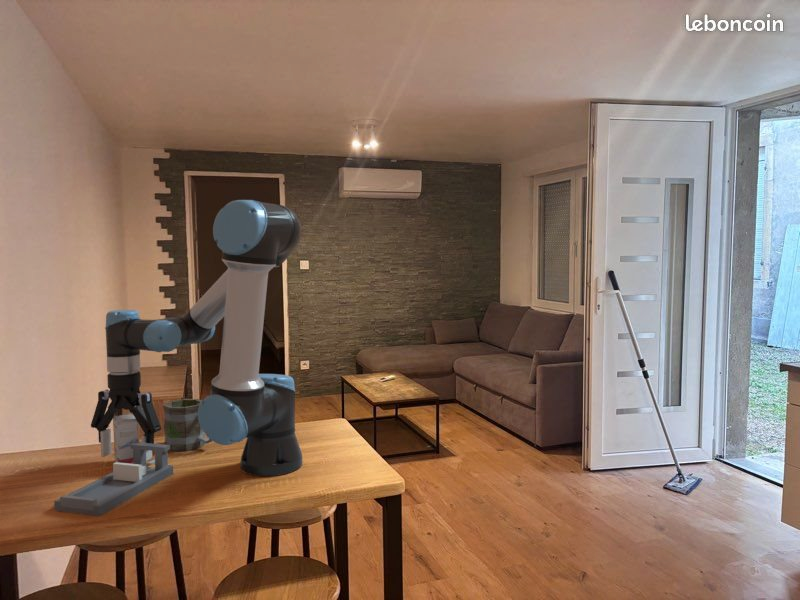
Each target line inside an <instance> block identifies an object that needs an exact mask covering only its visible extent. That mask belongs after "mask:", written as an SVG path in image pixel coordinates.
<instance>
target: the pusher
mask: <svg viewBox="0 0 800 600" xmlns="http://www.w3.org/2000/svg"><path fill="white" fill-rule="evenodd" d="M153 464H155V458H154V459H152V460H150V461H148V462H146V464H144V465H139V464H129V463H119V462H114V463H112V471H113V476H114V480H123V481H132V482H138V481H139V480H141V479H142V476H143V475H145V474H147V471H146V467H150V466H152V465H153Z"/></svg>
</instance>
